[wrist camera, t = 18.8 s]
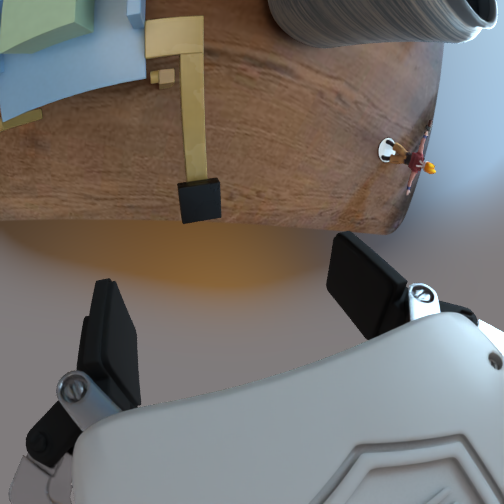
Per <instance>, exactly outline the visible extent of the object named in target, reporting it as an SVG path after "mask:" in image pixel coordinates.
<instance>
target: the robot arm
mask: <svg viewBox="0 0 504 504" xmlns="http://www.w3.org/2000/svg"><path fill="white" fill-rule="evenodd" d="M406 284H407V280H406V279H404V278H403V277H402V276H401V275H400V274H399V273H398V272H397V271H396V270H395V269H394V268H392V267H391V266H390V265H389V264H388V263H387V262H386V261H385V260H384V259H382V258H381V257H380V256H379V255H378V254H376V253H375V252H374V251H373V250H372V249H371V248H370V247H368V246H367V245H366V244H365V243H364V242H363V241H361V240H360V239H359V238H358V237H357V236H355V235H354V234H353V233H352V232H350V231H346V232H340V233H338V234H337V235H336V237H335V238H334V240H333V246H332V253H331V259H330V265H329V271H328V277H327V283H326V286H327V290H328V291H329V293H330V294H331V295H332V296H333V298H334V299H335V300H336V301H337V303H338V304H339V305H340V306H341V307H342V309H343V310H344V311H345V313H346V314H347V315H348V316H349V317H350V319H351V320H352V322H353V323H354V324H355V325H356V327H357V328H358V329H359V331H360V332H361V333H362V334H363V336H364V337H365V338H366V339H367V340H368V341H366V342H364V343H361V344H359V345H357V346H354V347H352V348H350V349H347V350H345V351H342V352H339V353H337V354H334V355H332V356H329V357H326V358H324V359H321V360H318V361H316V362H313V363H310V364H307V365H304V366H302V367H299V368H296V369H293V370H290V371H287V372H284V373H280V374H277V375H274V376H271V377H268V378H264V379H261V380H257V381H254V382H251V383H247V384H243V385H239V386H236V387H232V388H228V389H224V390H220V391H216V392H211V393H207V394H202V395H198V396H194V397H189V398H184V399H179V400H175V401H170V402H164V403H158V404H153V405H149V406H144V407H139V408H138V407H137V406H138V405H141V396H140V385H139V371H138V354H137V334H136V330H135V327H134V325H133V322H132V320H131V318H130V315H129V313H128V311H127V308H126V306H125V304H124V301H123V299H122V296H121V294H120V291H119V289H118V286H117V283H116V282H115V281H113V282H112V281H111V279H109V278H108V279H103V280H98V281H96V283H95V288H94V293H93V298H92V303H91V308H90V314H89V316H86V317H85V318H84V321H83V326H82V332H81V339H80V345H79V353H78V361H77V370H76V371H71V372H68V373H67V374H65V375H64V376H63V377H62V378H61V379H60V380H59V382H58V385H57V389H56V393H57V397H58V401H57V402H56V403H55V404H54V405H53V406H52V408H51V409H50V410H49V411H48V412H47V413H46V414H45V415H44V416H43V417H42V418H41V419H40V420H39V421H38V422H37V423H36V424H35V425H34V427H33V428H32V429H31V430H30V431H29V433H28V434H27V437H26V448H27V451H28V454H27V456H24V455H23V457H22V459H21V462H20V464H19V466H18V469H17V471H16V473H15V476H14V478H13V481H12V483H11V486H10V489H9V500H10V502H11V504H72V503H71V499H70V495H71V491H72V488H73V494H74V501H75V504H504V332H502V331H500V330H498V329H496V328H495V327H493V326H491V325H488V324H487V323H485V322H483V321H481V320H479V321H478V322H477V318H476V316H475V315H474V313H473V312H472V311H471V310H470V309H468V308H465V307H462V306H458V305H454V304H450V303H446V302H442V301H438V297H437V294H436V292H435V291H434V290H433V289H432V288H431V287H429V286H427V285H425V284H421V283H416V284H412V285H410V287H409V288H407V287H406ZM71 483H72V485H73V486H72V485H71Z"/></svg>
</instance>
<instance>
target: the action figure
mask: <svg viewBox="0 0 504 504" xmlns="http://www.w3.org/2000/svg"><path fill="white" fill-rule="evenodd" d="M432 122H433V119H432V120H429V123H428V126H429V127H428V126H427V125H426V129H427V131H426V132H424V133H425V135H424V136H423V138H422V140H421V143H420V146H419V150H418V152H417V153H414V152H413V153H412V154H411V153H410V152H408V151H406V150H405V149H404V148H403V146H401V145H400V144H398V143H397V142H396V143H395V142H394V141H393V140H392V139H391V138H386V139H384V140H383V141H382V142H381V144H380V146H379V157H380V159H381V160H382V161H384V162H389V161H390V163H394V164H400V163H403V164H406V165H408V167H409V168H411V170H412V172H411V175H410V178H409V181H408V186H407V193H406V194H407V195H408V194H409V192H410V188H411V184H412V180H413V179H414V177H415V175H416V173H418V171H421V168H423V170H424V171H425V172H427V173H429V174H434V173H435V172H436V171H435V170H434V167H435V166H434V165H433V164H432V163H430V162H428V161H426V162H424V157H423V148H424V142H425V139H426V137H427V136H428V135H429V133H430V130H431V128H432ZM395 152H397V153H398V154H399V155H395Z"/></svg>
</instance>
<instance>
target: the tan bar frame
mask: <svg viewBox="0 0 504 504" xmlns="http://www.w3.org/2000/svg"><path fill="white" fill-rule="evenodd" d="M150 80H151V84H154V83H159V89H167V88H171V86H172V85H173V84H174V83H175V69H174V68H170V69H162V70H159V71H158V70H157V71H151V72H150ZM40 119H42V109H37V110H31V111H28V112H25V113H23V114H21V115H18V116H16V117H14V118H12V119H10V120H7V121H5V122H3V121H2V117H0V132H2V131H5V130H8V129H11V128H14V127H18V126H21V125H24V124H28V123H31V122H35V121H37V120H40Z"/></svg>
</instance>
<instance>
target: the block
mask: <svg viewBox="0 0 504 504" xmlns="http://www.w3.org/2000/svg"><path fill="white" fill-rule="evenodd" d="M94 3H95V0H3V6H2V15H1V28H0V54H33V53H35V52H37V51H40V50H42V49H45V48H47V47H50V46H52V45H55V44H58V43H61V42H64V41H66V40H69V39H73V38H76V37H79V36H82V35H86V34H89V33H93V32H94Z"/></svg>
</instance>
